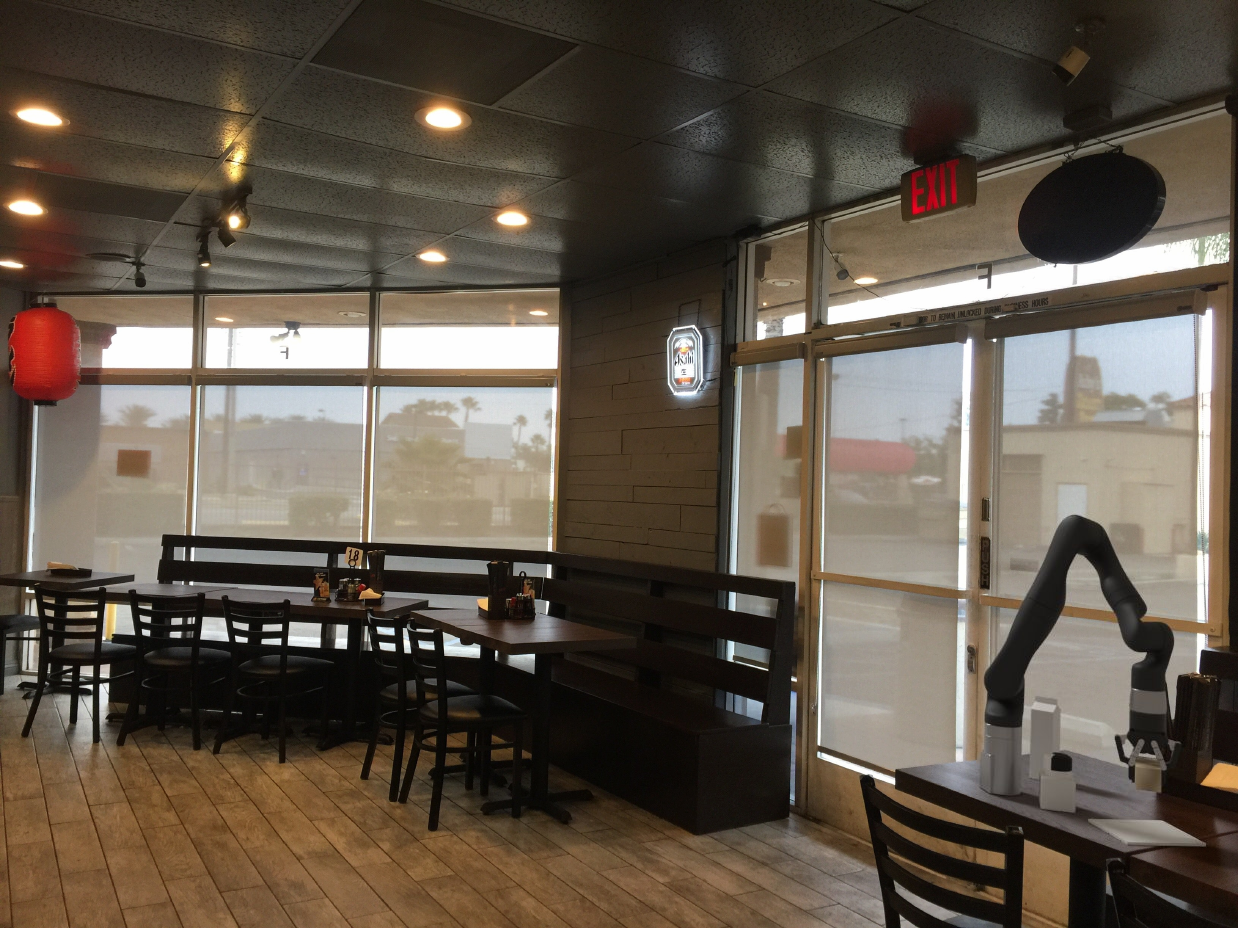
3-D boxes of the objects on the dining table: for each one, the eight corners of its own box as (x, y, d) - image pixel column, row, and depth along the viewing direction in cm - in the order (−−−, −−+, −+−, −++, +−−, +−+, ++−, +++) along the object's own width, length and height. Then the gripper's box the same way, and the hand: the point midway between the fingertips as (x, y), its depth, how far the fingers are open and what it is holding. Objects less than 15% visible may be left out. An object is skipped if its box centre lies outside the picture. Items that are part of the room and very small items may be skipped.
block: (1161, 792, 221) (1158, 780, 232) (1161, 769, 221) (1158, 758, 232) (1135, 789, 223) (1134, 776, 234) (1135, 766, 223) (1134, 755, 234)
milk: (1051, 782, 268) (1053, 700, 269) (1028, 778, 273) (1030, 696, 273) (1059, 778, 273) (1061, 697, 274) (1036, 773, 277) (1038, 694, 278)
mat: (1127, 844, 219) (1127, 841, 219) (1088, 821, 235) (1088, 818, 235) (1205, 846, 220) (1205, 843, 220) (1161, 822, 236) (1161, 820, 236)
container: (1072, 804, 248) (1073, 752, 249) (1075, 813, 241) (1076, 759, 242) (1038, 800, 251) (1039, 748, 252) (1040, 809, 244) (1042, 755, 244)
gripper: (1182, 709, 229) (1181, 784, 229) (1112, 702, 236) (1111, 775, 235) (1184, 715, 223) (1184, 792, 222) (1113, 707, 229) (1112, 782, 228)
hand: (1146, 783), depth 228 cm, fingers closed on block, 5 cm apart
